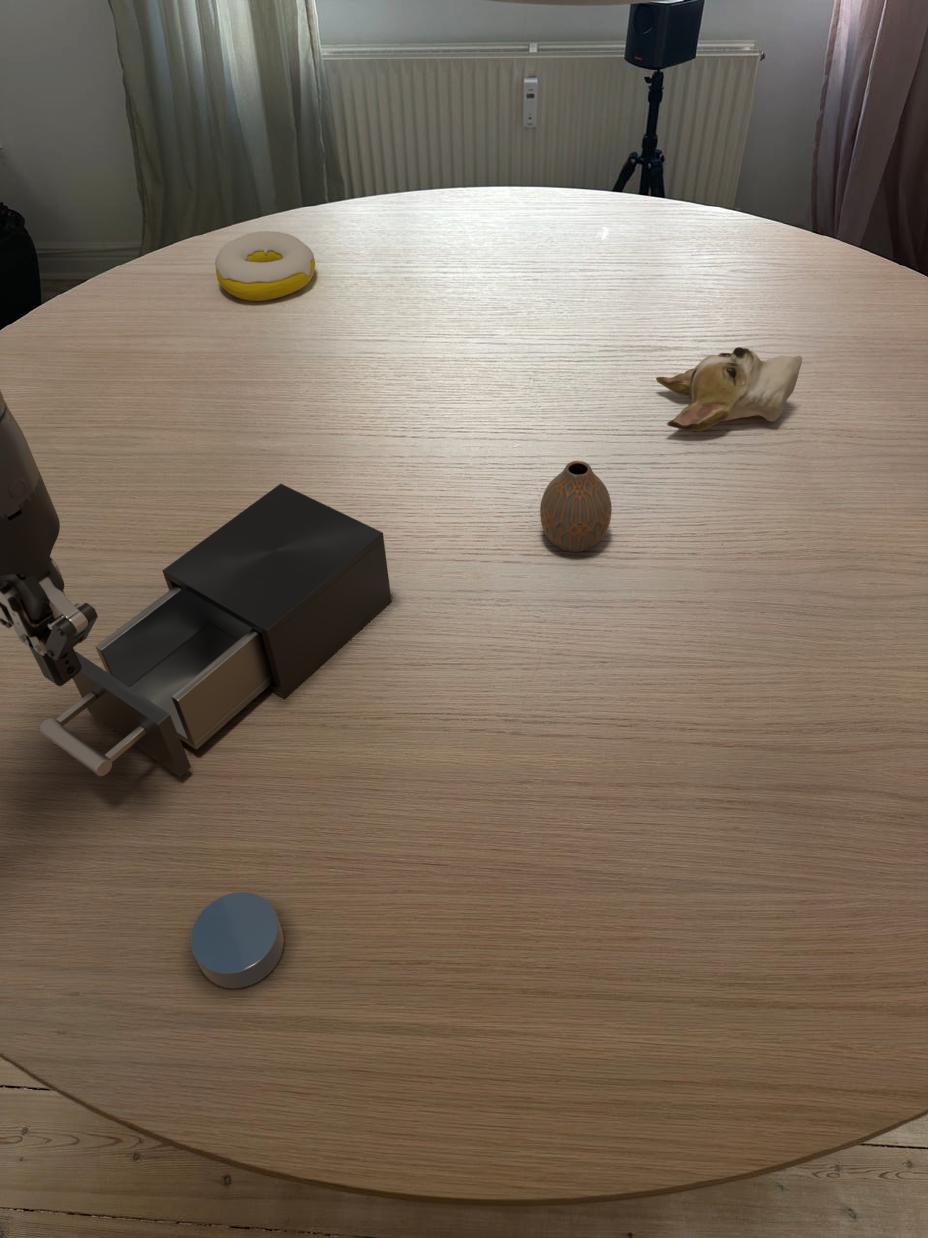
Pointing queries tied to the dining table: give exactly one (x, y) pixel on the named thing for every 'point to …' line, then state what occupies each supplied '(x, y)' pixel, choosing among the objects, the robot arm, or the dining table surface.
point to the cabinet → (291, 579)
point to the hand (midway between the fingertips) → (64, 674)
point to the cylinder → (237, 940)
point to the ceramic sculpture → (733, 388)
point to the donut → (264, 265)
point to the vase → (575, 508)
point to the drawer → (166, 681)
